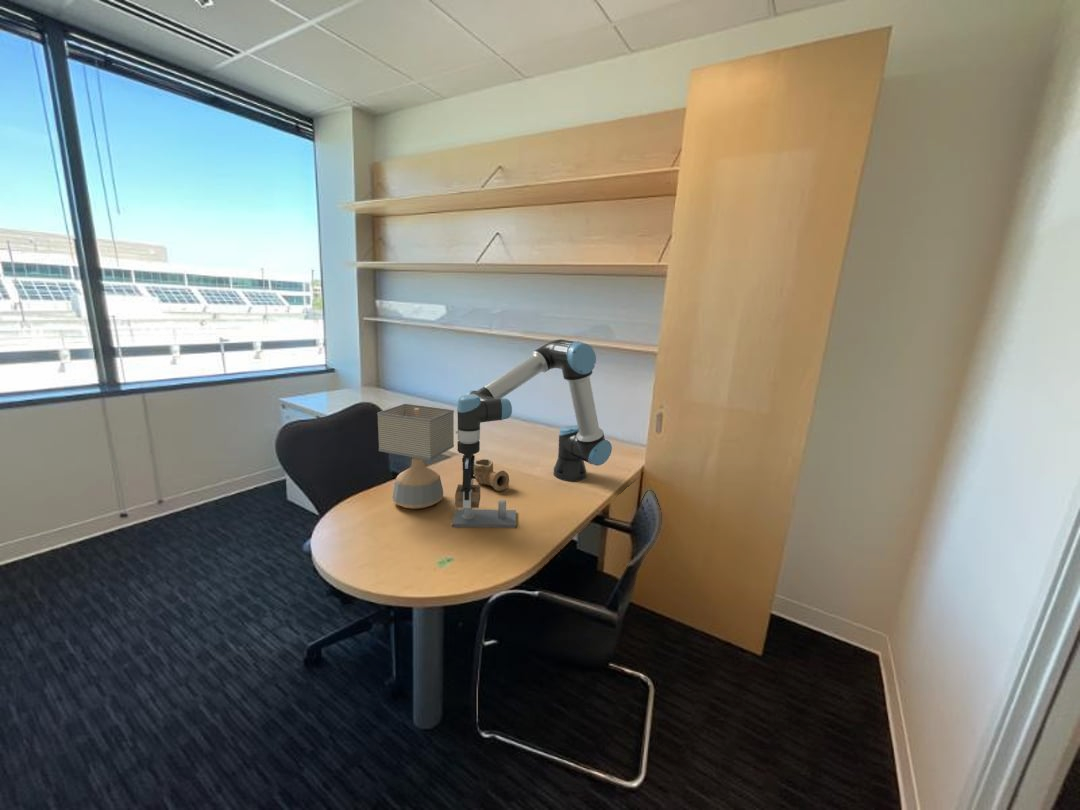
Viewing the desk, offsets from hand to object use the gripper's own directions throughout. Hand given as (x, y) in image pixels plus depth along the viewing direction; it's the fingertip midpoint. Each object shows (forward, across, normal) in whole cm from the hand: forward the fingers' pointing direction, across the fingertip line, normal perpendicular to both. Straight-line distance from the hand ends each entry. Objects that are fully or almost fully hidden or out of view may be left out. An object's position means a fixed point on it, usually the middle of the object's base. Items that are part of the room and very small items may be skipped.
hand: (468, 501), depth 152 cm
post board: (+7, 0, +6) cm, 9 cm away
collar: (0, 0, 0) cm, 0 cm away
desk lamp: (+7, -14, -20) cm, 26 cm away
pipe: (+7, -29, +6) cm, 30 cm away
